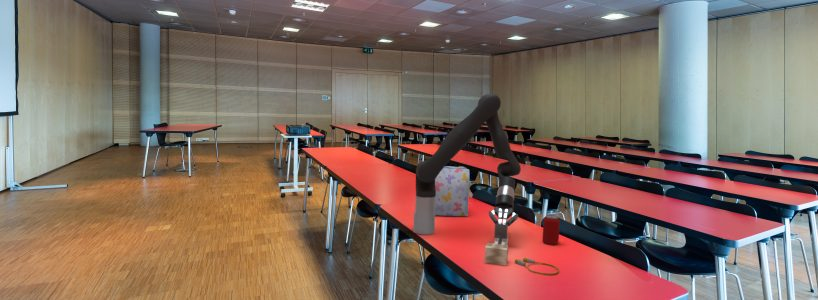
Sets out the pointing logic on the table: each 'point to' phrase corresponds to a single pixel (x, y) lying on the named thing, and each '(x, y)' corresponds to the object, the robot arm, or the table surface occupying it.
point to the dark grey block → (500, 231)
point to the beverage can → (551, 229)
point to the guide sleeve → (504, 242)
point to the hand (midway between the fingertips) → (501, 232)
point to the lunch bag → (452, 191)
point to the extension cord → (535, 264)
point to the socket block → (496, 254)
